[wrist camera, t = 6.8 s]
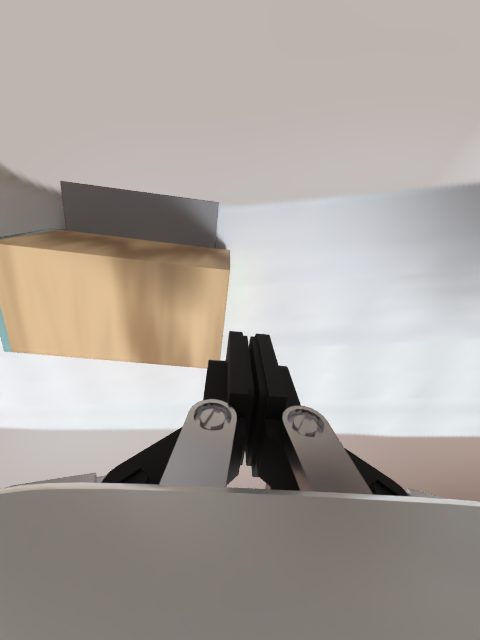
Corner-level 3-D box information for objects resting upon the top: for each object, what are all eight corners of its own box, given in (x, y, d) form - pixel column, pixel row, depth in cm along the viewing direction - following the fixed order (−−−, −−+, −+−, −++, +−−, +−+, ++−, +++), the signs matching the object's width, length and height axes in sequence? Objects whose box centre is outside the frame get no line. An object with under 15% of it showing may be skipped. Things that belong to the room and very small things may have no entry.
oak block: (229, 270, 14) (-25, 241, 13) (218, 369, 16) (4, 351, 15) (229, 250, 19) (52, 228, 18) (221, 326, 22) (64, 311, 21)
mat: (218, 202, 18) (218, 202, 18) (205, 355, 23) (205, 357, 23) (63, 181, 17) (60, 181, 17) (83, 344, 22) (81, 346, 22)
